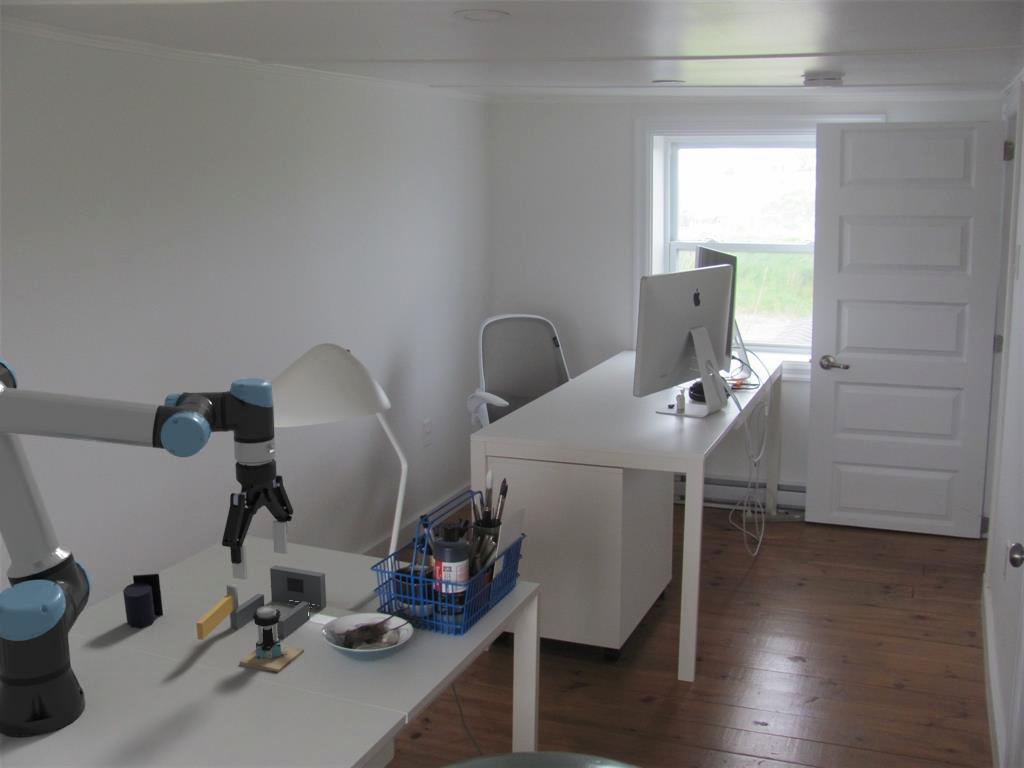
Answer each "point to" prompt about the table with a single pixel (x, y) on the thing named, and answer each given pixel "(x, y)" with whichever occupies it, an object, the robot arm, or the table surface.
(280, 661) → the cork mat
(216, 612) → the wooden plank
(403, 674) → the table surface
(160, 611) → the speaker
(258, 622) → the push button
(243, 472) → the robot arm
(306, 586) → the cradle
